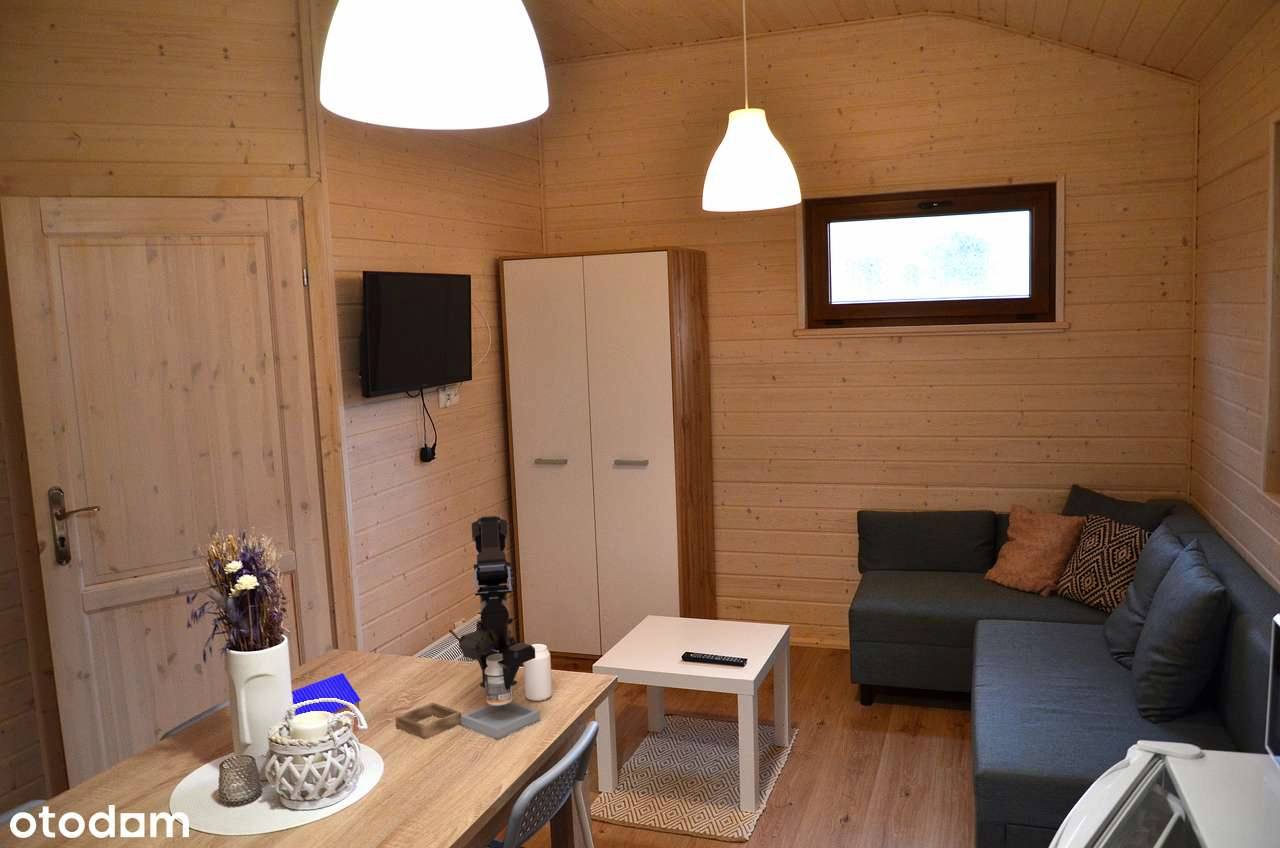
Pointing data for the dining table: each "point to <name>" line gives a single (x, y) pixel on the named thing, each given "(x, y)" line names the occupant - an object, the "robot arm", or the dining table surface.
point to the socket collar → (426, 731)
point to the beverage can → (538, 675)
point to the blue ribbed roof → (328, 696)
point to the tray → (500, 719)
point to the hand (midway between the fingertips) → (498, 685)
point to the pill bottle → (496, 682)
